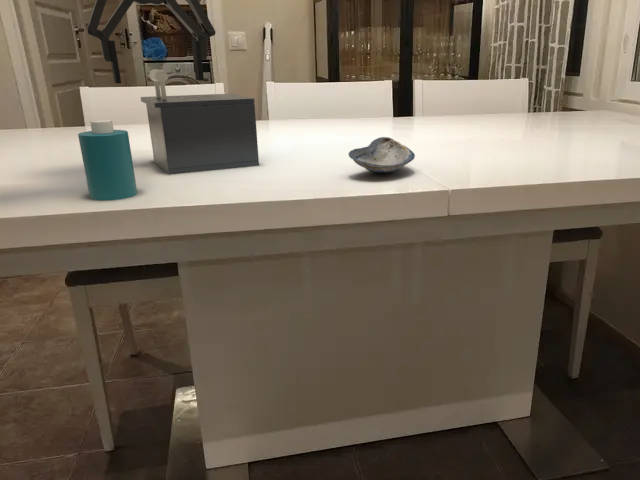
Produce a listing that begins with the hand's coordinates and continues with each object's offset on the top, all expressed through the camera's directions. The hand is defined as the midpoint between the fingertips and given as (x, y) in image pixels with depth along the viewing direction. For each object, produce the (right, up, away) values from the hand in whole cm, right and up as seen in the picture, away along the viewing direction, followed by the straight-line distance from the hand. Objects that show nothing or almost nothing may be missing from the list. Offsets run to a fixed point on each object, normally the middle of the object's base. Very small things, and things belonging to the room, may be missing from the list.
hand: (160, 81), depth 96 cm
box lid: (+5, -2, +4) cm, 7 cm away
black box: (+5, -13, +8) cm, 16 cm away
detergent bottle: (-1, -22, -15) cm, 26 cm away
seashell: (+38, -16, +1) cm, 41 cm away
